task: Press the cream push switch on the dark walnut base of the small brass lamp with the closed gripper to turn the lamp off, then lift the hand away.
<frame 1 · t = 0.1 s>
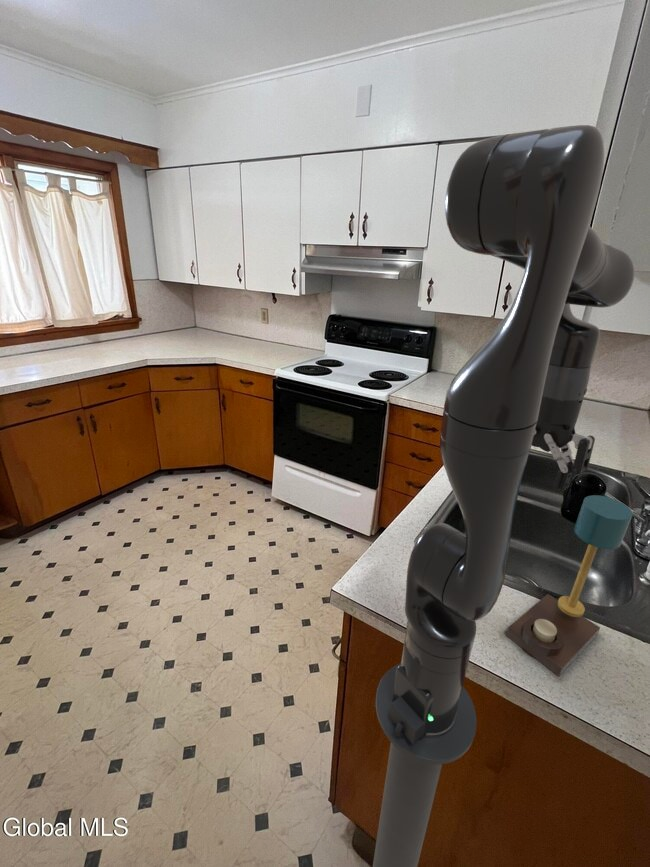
hand: (533, 478, 74), 29 cm above the worktop, tool pointing down, fingers open, 8 cm apart
lamp base: (551, 635, 79), on the worktop
lamp switch: (544, 630, 75), point 4 cm above the worktop, slide at 0.1 cm
lamp: (564, 622, 82), resting on lamp base
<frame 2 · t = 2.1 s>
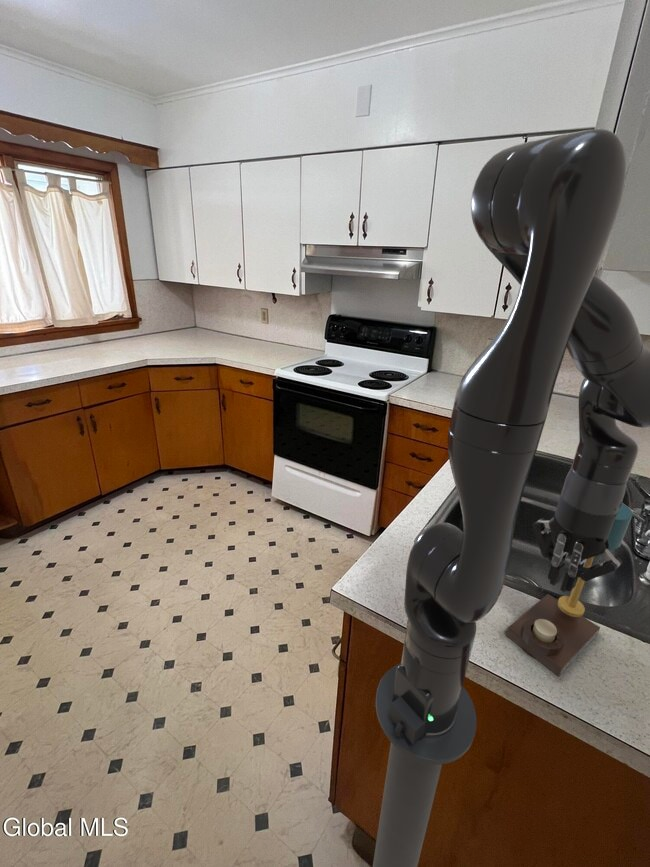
hand: (559, 585, 70), 15 cm above the worktop, tool pointing down, fingers closed
nothing on the worktop moved.
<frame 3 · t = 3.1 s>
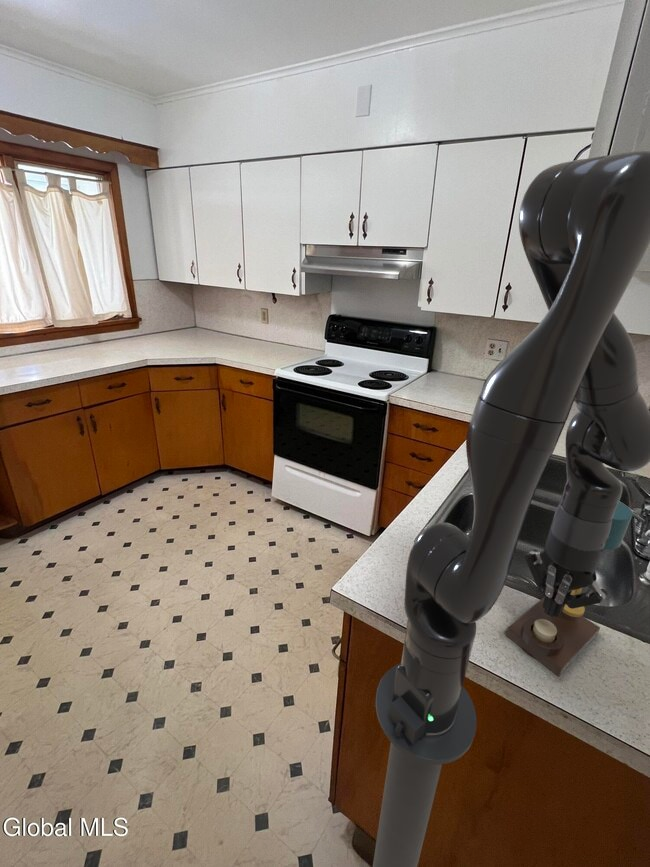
hand: (551, 612, 73), 9 cm above the worktop, tool pointing down, fingers closed
nothing on the worktop moved.
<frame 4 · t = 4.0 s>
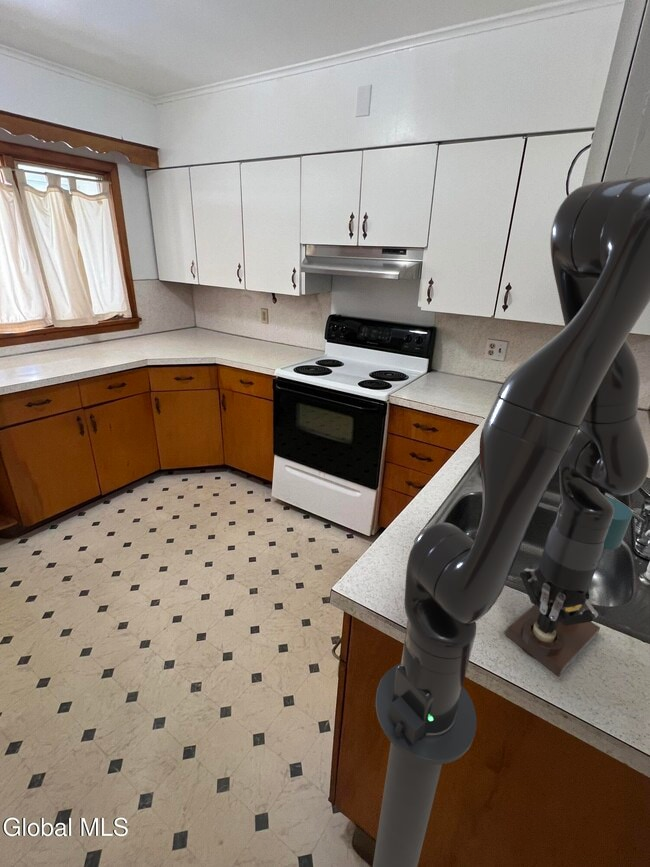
hand: (545, 628, 75), 5 cm above the worktop, tool pointing down, fingers closed
lamp switch: (543, 632, 75), point 4 cm above the worktop, slide at -0.5 cm, touching gripper
everything else where it was.
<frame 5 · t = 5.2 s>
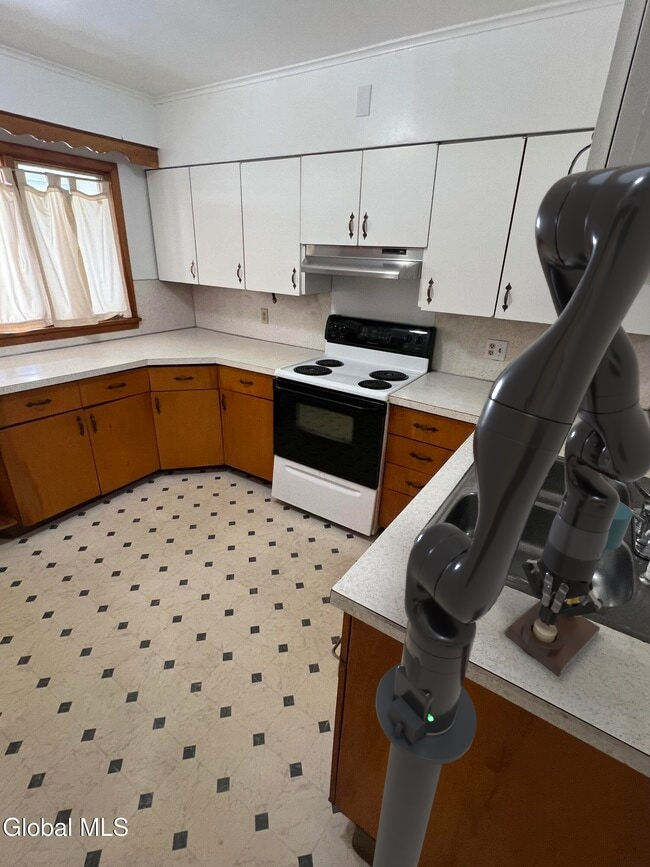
hand: (547, 621, 74), 7 cm above the worktop, tool pointing down, fingers closed
lamp switch: (544, 630, 75), point 4 cm above the worktop, slide at 0.1 cm
everything else where it was.
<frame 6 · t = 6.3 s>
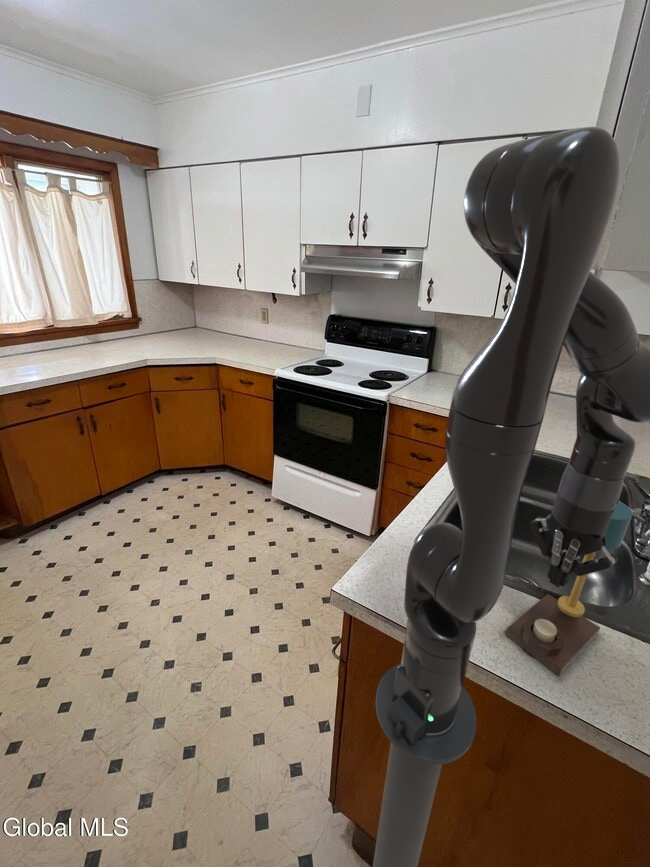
hand: (556, 583, 70), 16 cm above the worktop, tool pointing down, fingers closed
nothing on the worktop moved.
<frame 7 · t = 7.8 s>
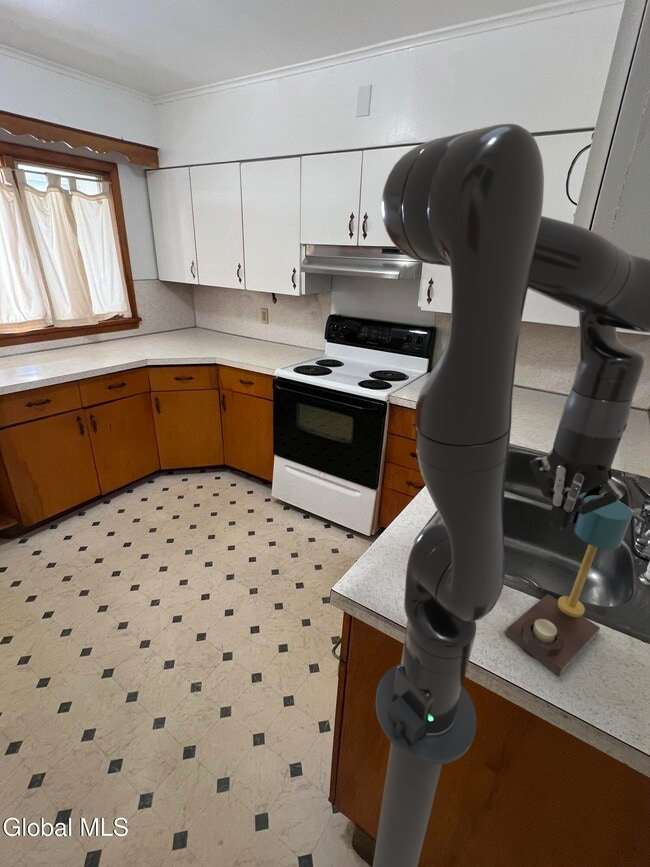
hand: (558, 526, 65), 27 cm above the worktop, tool pointing down, fingers closed
nothing on the worktop moved.
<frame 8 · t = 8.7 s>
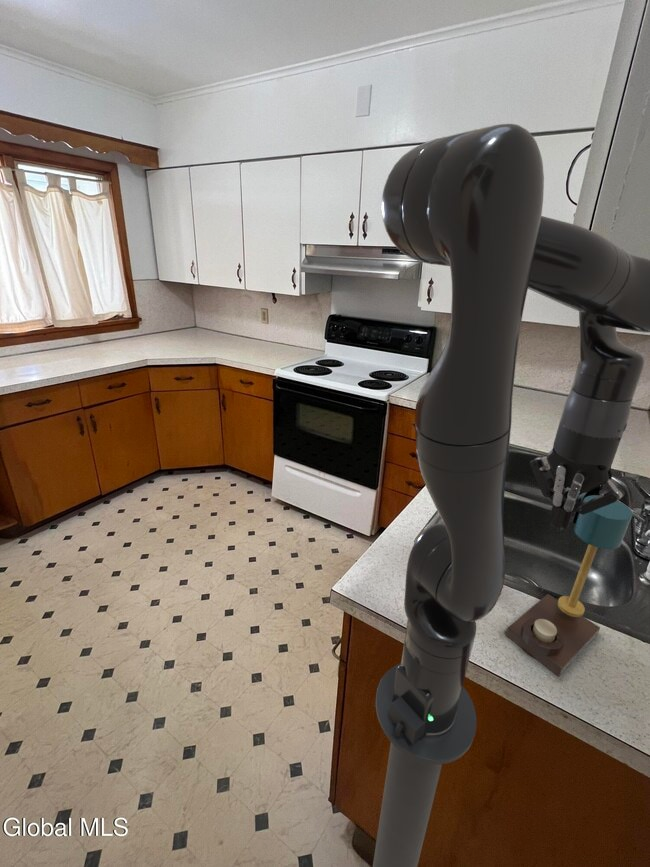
hand: (558, 526, 65), 27 cm above the worktop, tool pointing down, fingers closed
nothing on the worktop moved.
at the end: lamp switch pushed in 1.2 cm at the most during the clip, back to where it started at the end; lamp switch slide at 0.1 cm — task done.
